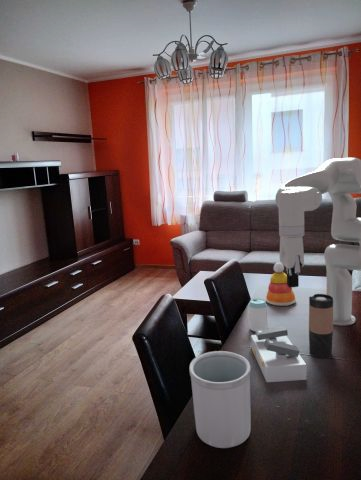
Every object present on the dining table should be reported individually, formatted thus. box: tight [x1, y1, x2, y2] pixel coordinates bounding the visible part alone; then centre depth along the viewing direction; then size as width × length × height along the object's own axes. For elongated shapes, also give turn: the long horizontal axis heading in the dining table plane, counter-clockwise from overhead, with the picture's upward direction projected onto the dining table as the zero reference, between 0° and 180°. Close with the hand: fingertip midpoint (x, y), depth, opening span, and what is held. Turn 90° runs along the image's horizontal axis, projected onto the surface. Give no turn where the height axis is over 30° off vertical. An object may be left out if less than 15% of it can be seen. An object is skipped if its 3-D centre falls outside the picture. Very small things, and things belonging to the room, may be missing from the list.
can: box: [248, 298, 268, 333], centre depth 148 cm, size 7×7×12 cm
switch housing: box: [250, 334, 307, 383], centre depth 123 cm, size 22×12×6 cm, turn 1°
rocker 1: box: [255, 325, 289, 340], centre depth 128 cm, size 4×10×2 cm, turn 91°
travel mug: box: [308, 293, 334, 359], centre depth 127 cm, size 8×8×20 cm
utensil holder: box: [189, 350, 252, 449], centre depth 93 cm, size 15×15×18 cm
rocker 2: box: [264, 339, 300, 357], centre depth 117 cm, size 4×10×2 cm, turn 91°
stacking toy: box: [264, 261, 297, 307], centre depth 175 cm, size 14×14×20 cm
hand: (292, 286), depth 120 cm, fingers closed
